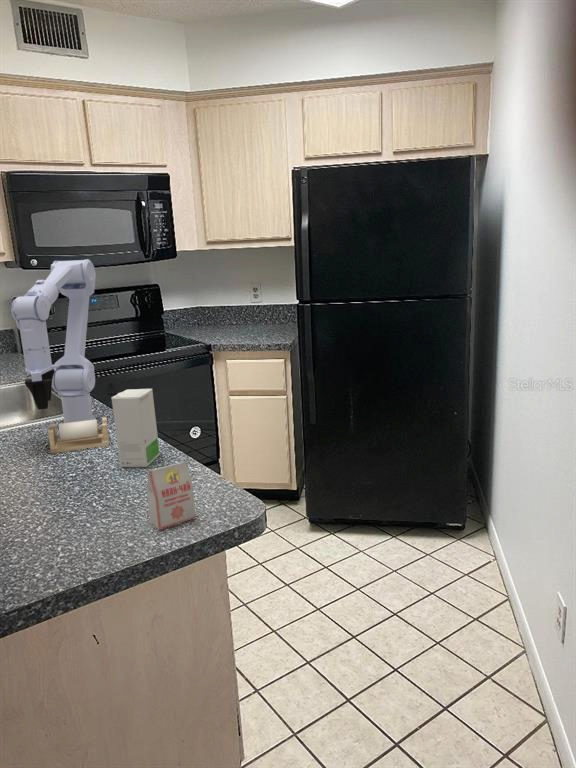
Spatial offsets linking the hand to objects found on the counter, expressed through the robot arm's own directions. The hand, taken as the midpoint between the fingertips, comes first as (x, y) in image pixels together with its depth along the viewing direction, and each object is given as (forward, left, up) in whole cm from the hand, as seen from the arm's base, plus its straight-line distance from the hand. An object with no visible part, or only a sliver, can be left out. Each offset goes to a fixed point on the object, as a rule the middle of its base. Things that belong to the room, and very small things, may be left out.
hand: (44, 404), depth 142 cm
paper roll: (+2, +7, -7) cm, 10 cm away
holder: (+1, +7, -10) cm, 13 cm away
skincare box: (+19, +20, -11) cm, 30 cm away
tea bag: (+51, +24, -11) cm, 57 cm away
